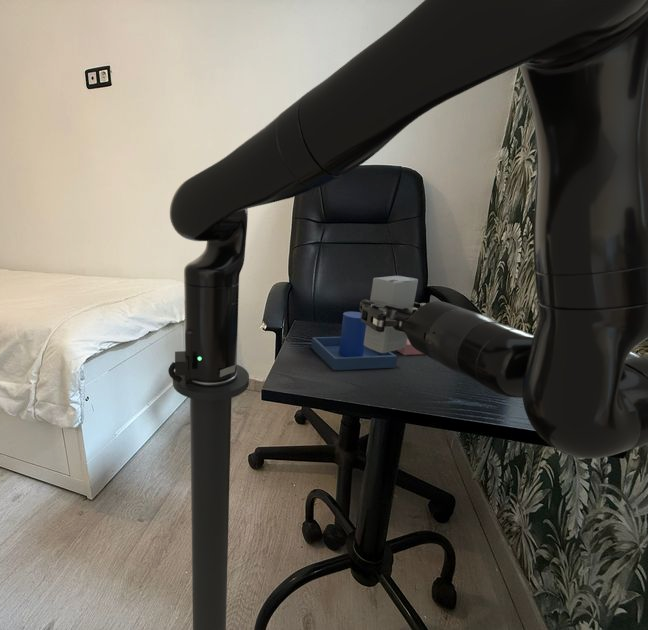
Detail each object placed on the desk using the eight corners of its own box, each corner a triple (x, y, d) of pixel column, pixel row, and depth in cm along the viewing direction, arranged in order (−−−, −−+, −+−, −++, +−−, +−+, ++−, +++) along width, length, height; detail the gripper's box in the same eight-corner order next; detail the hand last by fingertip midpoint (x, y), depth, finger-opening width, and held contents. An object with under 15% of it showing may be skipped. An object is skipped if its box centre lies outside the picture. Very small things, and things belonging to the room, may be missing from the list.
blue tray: (333, 370, 70) (334, 358, 69) (311, 347, 82) (311, 337, 81) (395, 367, 72) (397, 356, 71) (364, 345, 83) (366, 335, 83)
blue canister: (345, 360, 74) (350, 318, 71) (334, 350, 79) (339, 311, 76) (367, 359, 75) (373, 317, 72) (356, 350, 79) (361, 311, 77)
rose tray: (403, 355, 78) (405, 344, 78) (374, 336, 90) (375, 327, 89) (457, 352, 80) (459, 342, 80) (421, 334, 92) (423, 325, 91)
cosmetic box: (385, 341, 64) (395, 274, 61) (407, 349, 60) (420, 278, 57) (361, 346, 61) (371, 276, 58) (383, 355, 57) (395, 281, 54)
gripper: (512, 308, 45) (425, 283, 61) (408, 309, 43) (346, 283, 59) (498, 362, 47) (417, 324, 63) (398, 366, 45) (341, 326, 61)
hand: (383, 305), depth 61 cm, fingers closed on cosmetic box, 7 cm apart
